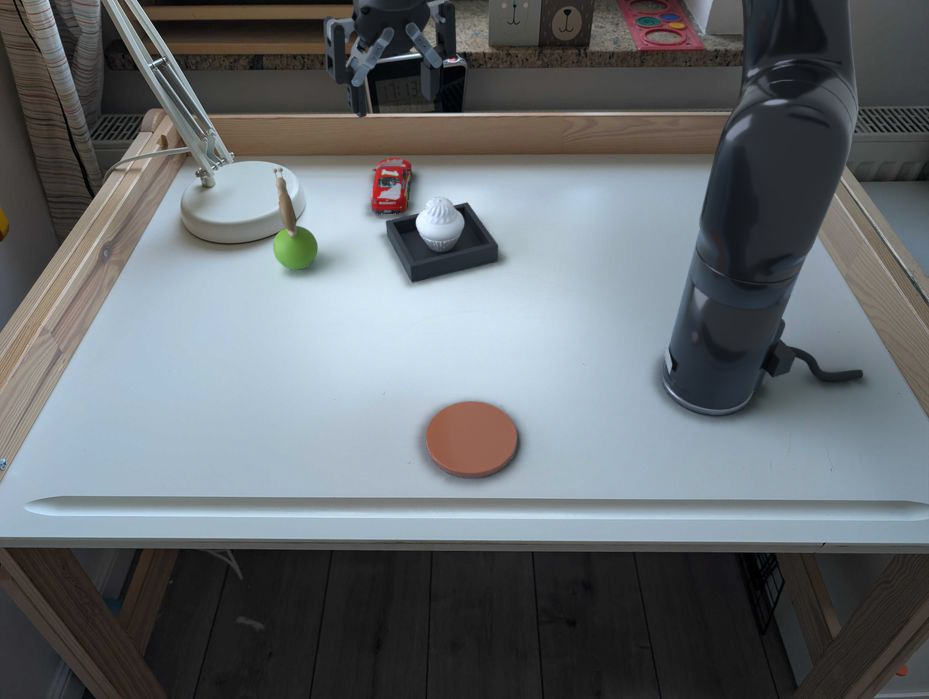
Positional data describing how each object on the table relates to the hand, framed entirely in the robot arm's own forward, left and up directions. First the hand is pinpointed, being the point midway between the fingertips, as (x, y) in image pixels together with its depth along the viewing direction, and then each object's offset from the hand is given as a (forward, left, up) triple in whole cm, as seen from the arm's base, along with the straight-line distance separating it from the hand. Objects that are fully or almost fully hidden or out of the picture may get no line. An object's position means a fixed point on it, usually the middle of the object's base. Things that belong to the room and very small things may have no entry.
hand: (394, 105), depth 80 cm
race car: (-2, -13, -20) cm, 24 cm away
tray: (-4, +2, -20) cm, 20 cm away
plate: (+4, +33, -20) cm, 38 cm away
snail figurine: (+14, -2, -20) cm, 24 cm away
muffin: (-4, +2, -19) cm, 20 cm away
